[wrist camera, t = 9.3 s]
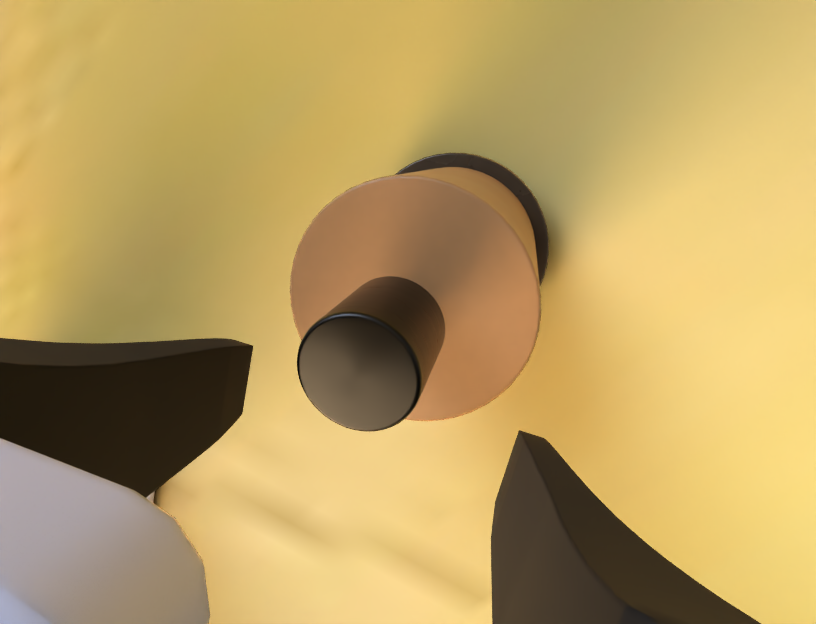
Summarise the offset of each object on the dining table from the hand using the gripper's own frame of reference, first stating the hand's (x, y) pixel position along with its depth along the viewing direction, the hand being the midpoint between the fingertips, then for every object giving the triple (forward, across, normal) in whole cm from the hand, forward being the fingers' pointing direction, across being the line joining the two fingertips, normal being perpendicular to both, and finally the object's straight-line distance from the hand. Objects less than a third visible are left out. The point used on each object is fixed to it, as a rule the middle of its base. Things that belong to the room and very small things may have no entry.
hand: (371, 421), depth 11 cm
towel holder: (+9, 0, -4) cm, 10 cm away
